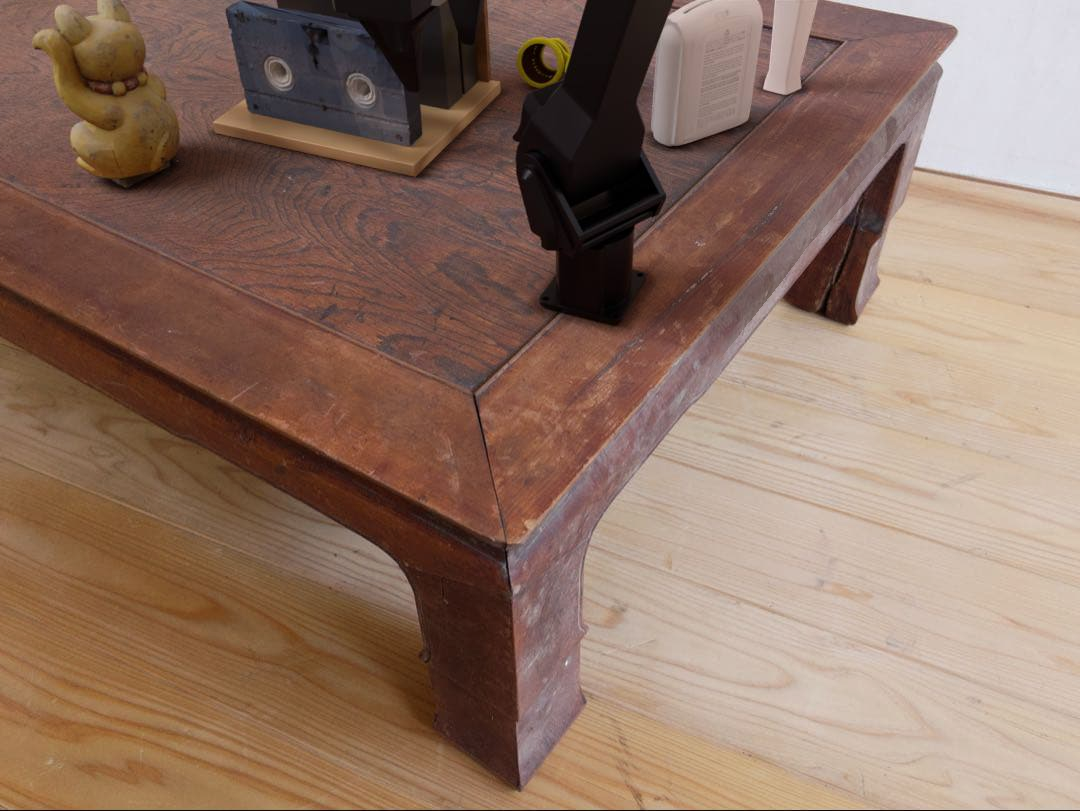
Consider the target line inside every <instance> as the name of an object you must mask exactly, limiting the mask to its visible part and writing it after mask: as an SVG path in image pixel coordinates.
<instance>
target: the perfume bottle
mask: <svg viewBox="0 0 1080 811" xmlns="http://www.w3.org/2000/svg"><path fill="white" fill-rule="evenodd" d="M818 2H819V0H774V8H773V17H772V18H773V19H772V30H771V42H770V43H771V44H770V54H769V67H768V71H767V74H766V77H765V79H764V83H763V88H762V90H764V91H767V92H771V93H775V94H779V95H782V96H787V95H790V94H792V93H794V92H797V91H799V90H801V89H802V82H801V70H802V65H803V61H804V58H805V54H806V50H807V46H808V42H809V38H810V34H811V30H812V26H813V23H814V18H815V14H816V10H817V5H818Z"/></svg>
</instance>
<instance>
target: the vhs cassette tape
mask: <svg viewBox="0 0 1080 811" xmlns="http://www.w3.org/2000/svg"><path fill="white" fill-rule="evenodd" d="M224 11H225V17H226V20H227V25H228V29H230V31H231V33H230V38H231V42H232V45H233V50H234V55H235V56H234V57H235V60H236V65H237V69H238V73H239V78H240V83H241V85H242V89H243V92H244V94H243V95H244V99H245V100H246V104H247V106H248V107H247V109H248V111H249V112H250V113H254V114H259V115H265V116H270V117H273V118H278V119H282V120H287V121H291V122H296V123H300V124H305V125H310V126H314V127H319V128H325V129H329V130H333V131H336V132H341V133H345V134H350V135H355V136H360V137H364V138H369V139H373V140H378V141H383V142H387V143H392V144H396V145H401V146H410V145H413V144H414V142H415V141H416V140H417V139H418V138H420V137H421V136H422V121H421V107H420V98H419V92H418V93H414V92H409V91H407V90H406V89H405V87H404V86H403V84H402V83H401V81H400V80H399V78H398V76H397V75H396V73H395V72H394V70H393V69H392V67H391V66H390V64H389V63H388V61H387V60H386V58H385V56H384V55H383V53H382V52H381V51H380V49H379V47H378V46H377V45H376V43H375V42H374V40H373V39H372V38H371V36H370V35H369V34H368V33H367V31H366V30H365V29H364V28H363V26H362V25H361V24H360V22H358V21H351V20H346V19H342V18H337V17H332V16H327V15H321V14H314V13H307V12H303V11H300V10H293V9H285V8H278V7H276V6H275V7H274V6H271V5H268V4H264V3H258V2H253V1H248V0H238V1H237V2H234V3H232V4H230V5H229V6H227V7H226V8H225V10H224Z"/></svg>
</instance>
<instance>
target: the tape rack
mask: <svg viewBox="0 0 1080 811" xmlns="http://www.w3.org/2000/svg"><path fill="white" fill-rule="evenodd" d="M276 5H277V8H285V9H293V10H300V11H303V12H307V13H314V14H321V15H327V16H332V17H337V18H342V19H346V20H351V21H358V20H357V19H354V18H349V17H347V15H346V13H341V12H336V11H335V10H334V8H333V3H332V0H276ZM431 6H437V9H436V11H435V12H434V13H433V14H432V15H431V16H430V18H429V19H428V20H427V21H426V22H425V23H424V24H423V26H422V85H421V91H420V92H419V98H420V107H421V121H422V136H421V137H420V138H418V139H417V140H416V141H415V142H414V144H413V145H410V146H401V145H396V144H392V143H387V142H383V141H378V140H373V139H369V138H364V137H360V136H355V135H350V134H345V133H341V132H336V131H333V130H329V129H325V128H319V127H314V126H310V125H305V124H300V123H296V122H291V121H287V120H282V119H278V118H273V117H270V116H265V115H259V114H254V113H250V112H249V111H248V109H247V107H248V106H247V104H246V100H245V98H244V99H243V100H241V101H240V102H238V103H237V104H236V105H234V106H233V107H231V108H230V109H229V110H227V111H226V112H224V113H223V114H222V115H220V116H219V117H218V118H216V119H214V120H213V121H212V125H213V129H214V132H215V134H218V135H222V136H227V137H232V138H237V139H241V140H246V141H250V142H254V143H258V144H263V145H268V146H273V147H277V148H281V149H282V148H283V149H287V150H291V151H295V152H300V153H305V154H309V155H313V156H317V157H323V158H326V159H333V160H335V161H336V160H337V161H342V162H345V163H350V164H356V165H360V166H364V167H368V168H372V169H373V168H374V169H376V170H382V171H387V172H390V173H396V174H400V175H405V176H409V177H414V178H416V177H417V176H418V175H419V174H420V173H421V172H422V171H424V170H425V168H426V167H428V165H429V164H430V163H431V162H432V161H434V159H436V157H437V156H438V155H439V154H440V153H442V151H443V150H444V149H445V148H446V147H447V146H449V144H451V142H452V141H453V140H454V139H455V138H457V136H459V135H460V134H461V133H462V132H463V130H464V129H465V128H467V126H468V125H470V124H471V122H473V121H474V120H475V119H476V118H477V116H479V115H480V114H481V113H482V111H484V109H486V107H488V106H489V105H490V104H491V103H492V102H493V101H494V100H495V99H496V98H497V97H498V96H499V95H500V94H501V92H502V90H501V81H499V80H493V79H492V69H491V68H492V67H491V48H490V29H489V28H490V27H489V11H488V0H485V2H484V6H483V11H482V16H481V20H480V25H479V29H478V34H477V39H476V42H475V44H474V45H465V44H463V43H462V42H461V40H460V37H459V34H458V32H457V29H456V26H455V23H454V20H453V17H452V14H451V11H450V7H449V4H448V1H447V0H432V3H431ZM358 22H359V21H358Z"/></svg>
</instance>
